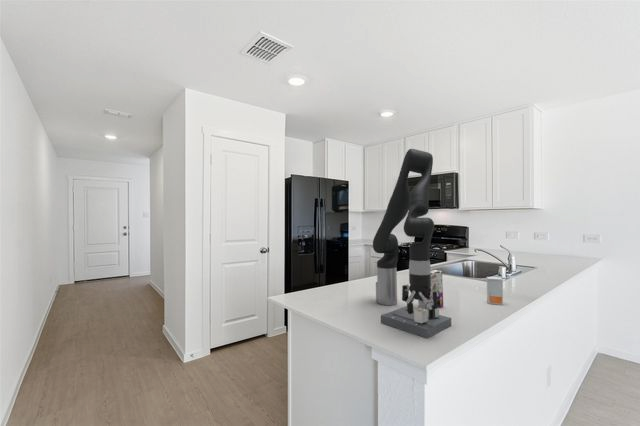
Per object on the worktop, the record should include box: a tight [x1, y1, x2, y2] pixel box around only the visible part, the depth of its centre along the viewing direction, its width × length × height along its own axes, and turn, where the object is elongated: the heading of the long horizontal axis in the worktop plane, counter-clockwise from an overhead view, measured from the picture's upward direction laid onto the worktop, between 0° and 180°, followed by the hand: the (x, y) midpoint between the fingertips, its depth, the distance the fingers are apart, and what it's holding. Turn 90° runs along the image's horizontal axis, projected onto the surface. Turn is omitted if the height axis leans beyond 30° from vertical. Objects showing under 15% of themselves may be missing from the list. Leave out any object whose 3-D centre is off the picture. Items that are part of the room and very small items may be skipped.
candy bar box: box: [417, 269, 444, 309], centre depth 136 cm, size 11×5×16 cm, turn 118°
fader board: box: [380, 305, 452, 339], centre depth 116 cm, size 20×17×3 cm
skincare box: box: [486, 276, 504, 306], centre depth 141 cm, size 6×4×12 cm
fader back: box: [426, 305, 440, 317], centre depth 115 cm, size 3×4×4 cm
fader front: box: [414, 307, 428, 324], centre depth 110 cm, size 3×4×4 cm
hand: (420, 316), depth 110 cm, fingers open, 8 cm apart
